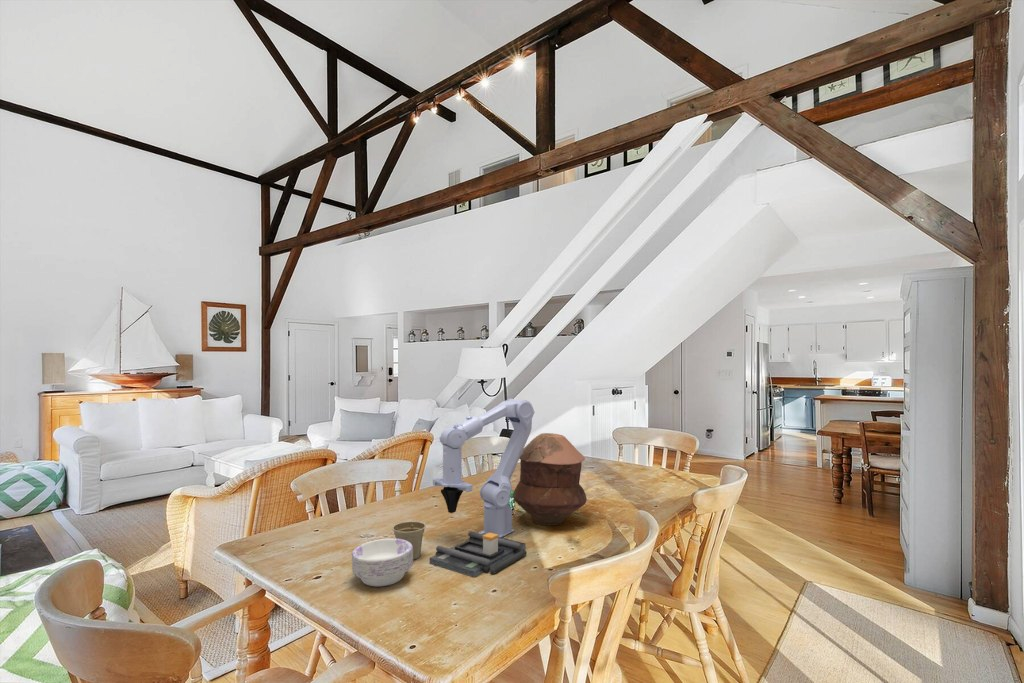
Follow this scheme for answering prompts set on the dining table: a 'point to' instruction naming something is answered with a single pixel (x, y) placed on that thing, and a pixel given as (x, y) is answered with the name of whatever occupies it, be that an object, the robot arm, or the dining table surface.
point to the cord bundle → (480, 560)
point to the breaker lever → (490, 543)
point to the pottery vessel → (550, 479)
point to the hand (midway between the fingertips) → (452, 512)
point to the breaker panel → (476, 549)
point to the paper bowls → (382, 561)
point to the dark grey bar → (500, 541)
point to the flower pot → (411, 534)
